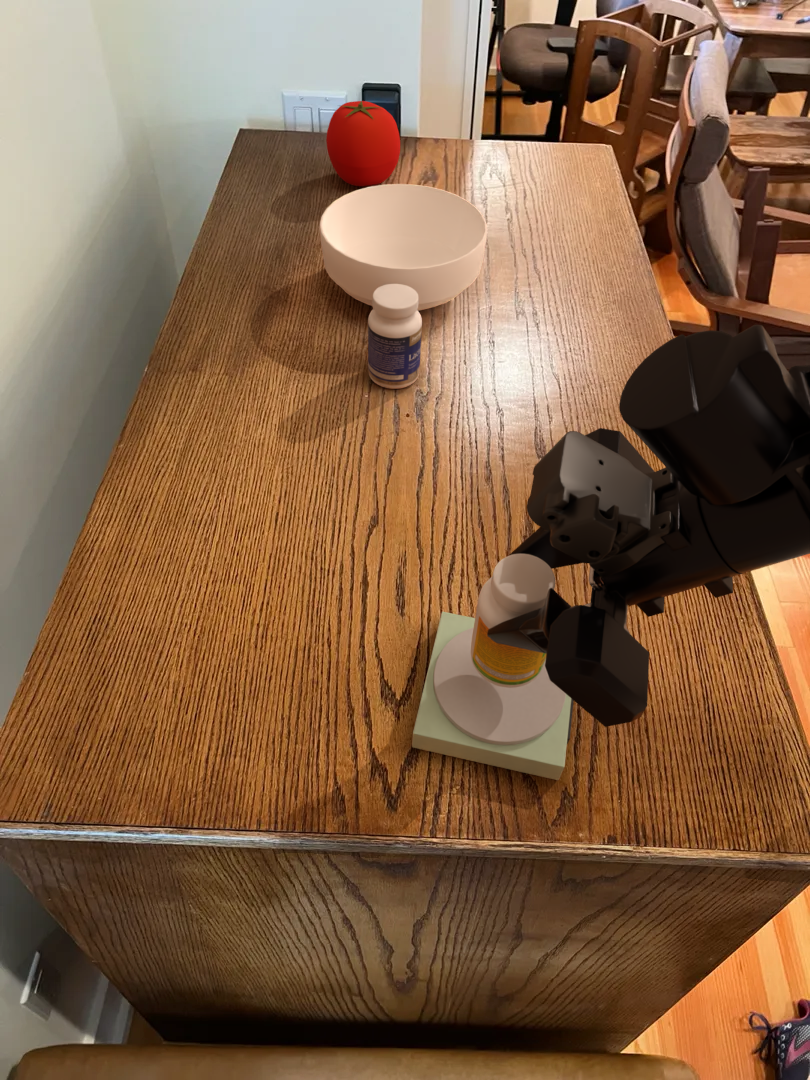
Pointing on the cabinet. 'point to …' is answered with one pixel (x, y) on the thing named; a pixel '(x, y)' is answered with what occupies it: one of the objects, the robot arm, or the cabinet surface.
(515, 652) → the supplement bottle
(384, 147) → the tomato
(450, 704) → the scale
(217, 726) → the cabinet surface
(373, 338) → the pill bottle
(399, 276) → the bowl
